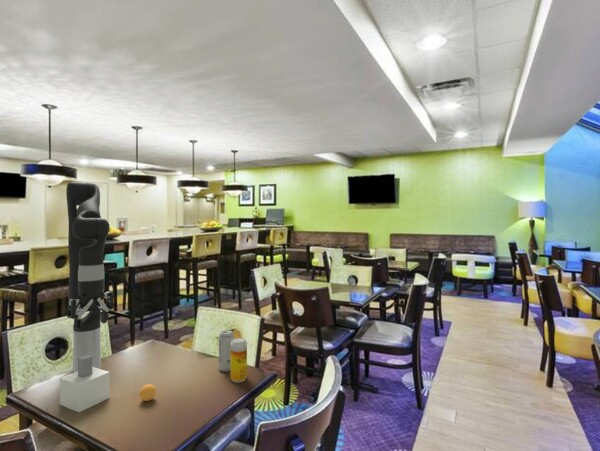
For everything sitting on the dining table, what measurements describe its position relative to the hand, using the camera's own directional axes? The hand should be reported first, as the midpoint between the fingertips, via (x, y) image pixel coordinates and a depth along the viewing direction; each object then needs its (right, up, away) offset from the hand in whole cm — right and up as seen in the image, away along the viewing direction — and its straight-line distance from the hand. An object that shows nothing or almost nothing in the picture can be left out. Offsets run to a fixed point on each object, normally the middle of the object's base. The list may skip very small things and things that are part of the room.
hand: (91, 326), depth 115 cm
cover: (-2, -25, 0) cm, 25 cm away
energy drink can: (+40, -25, +25) cm, 53 cm away
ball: (+19, -23, +1) cm, 29 cm away
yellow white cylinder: (+46, -25, +16) cm, 55 cm away
